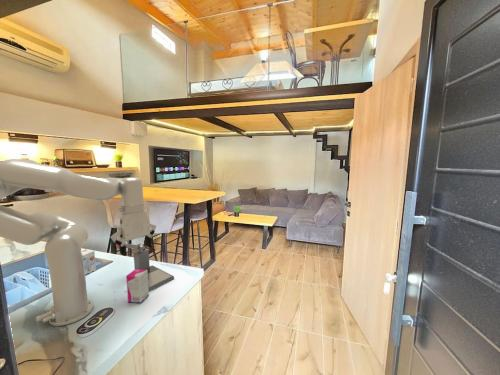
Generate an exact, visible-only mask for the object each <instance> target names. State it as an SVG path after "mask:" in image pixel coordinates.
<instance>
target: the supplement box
mask: <svg viewBox="0 0 500 375" xmlns="http://www.w3.org/2000/svg"><path fill="white" fill-rule="evenodd" d="M126 291H127V303H128V304H140V305H141V304H142V303H143V302H144V301H145V300H146V299H148V297H149V296H150V294H149V293H150V292H149V289H148V272H147V270H140V269H135V268H134V269H133V270H132V271H131V272H129V273H128V274H127V275H126Z"/></svg>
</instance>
